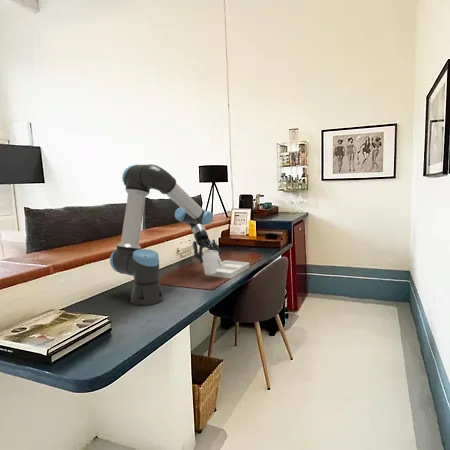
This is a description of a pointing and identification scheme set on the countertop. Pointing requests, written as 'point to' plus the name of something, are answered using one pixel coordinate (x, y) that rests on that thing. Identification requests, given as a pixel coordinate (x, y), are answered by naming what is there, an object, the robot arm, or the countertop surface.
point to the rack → (230, 269)
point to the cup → (211, 261)
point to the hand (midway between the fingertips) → (213, 266)
